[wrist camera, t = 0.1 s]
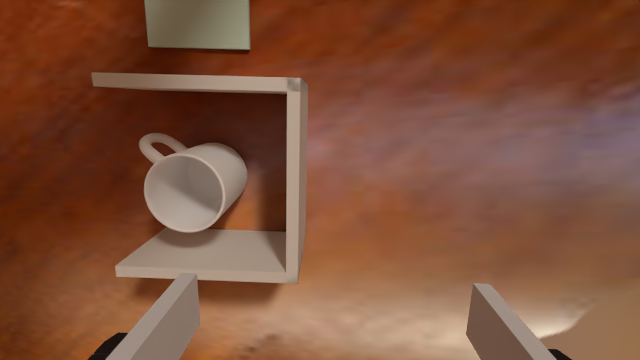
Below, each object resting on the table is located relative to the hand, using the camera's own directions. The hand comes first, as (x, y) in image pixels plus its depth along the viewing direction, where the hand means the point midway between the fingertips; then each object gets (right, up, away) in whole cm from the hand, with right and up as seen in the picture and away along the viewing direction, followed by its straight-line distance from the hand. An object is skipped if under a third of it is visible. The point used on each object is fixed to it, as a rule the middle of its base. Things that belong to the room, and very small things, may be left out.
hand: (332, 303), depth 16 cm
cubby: (-12, +8, +27) cm, 31 cm away
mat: (-15, +27, +23) cm, 39 cm away
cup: (-15, +8, +27) cm, 32 cm away
